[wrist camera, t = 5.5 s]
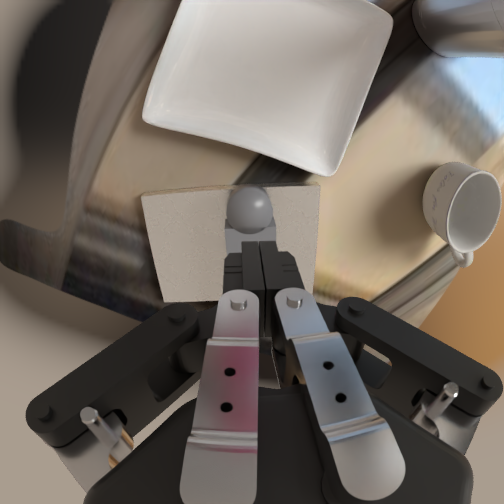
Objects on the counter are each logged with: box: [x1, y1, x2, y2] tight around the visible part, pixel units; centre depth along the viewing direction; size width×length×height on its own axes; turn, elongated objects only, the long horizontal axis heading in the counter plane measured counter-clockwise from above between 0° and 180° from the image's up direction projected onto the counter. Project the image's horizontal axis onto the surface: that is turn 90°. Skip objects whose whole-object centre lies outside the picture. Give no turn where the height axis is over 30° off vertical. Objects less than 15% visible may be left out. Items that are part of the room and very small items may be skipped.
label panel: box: [141, 182, 320, 302], centre depth 35 cm, size 20×15×3 cm
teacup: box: [423, 162, 501, 268], centre depth 31 cm, size 14×11×8 cm
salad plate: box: [142, 0, 393, 177], centre depth 24 cm, size 21×21×3 cm
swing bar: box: [224, 183, 276, 255], centre depth 32 cm, size 16×5×2 cm, turn 2°
